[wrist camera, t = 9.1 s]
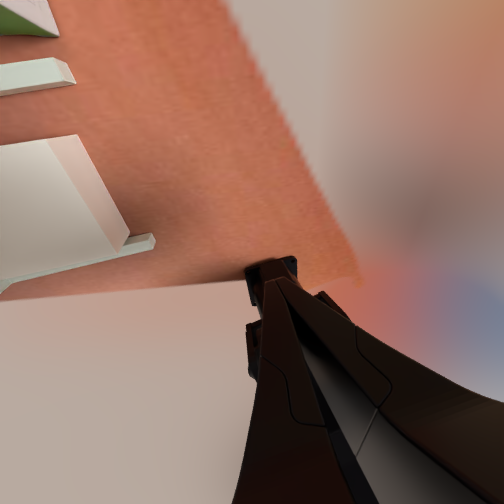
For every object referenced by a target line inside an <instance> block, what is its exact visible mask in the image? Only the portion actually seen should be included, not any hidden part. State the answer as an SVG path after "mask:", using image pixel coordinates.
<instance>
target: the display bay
mask: <svg viewBox="0 0 504 504" xmlns="http://www.w3.org/2000/svg"><path fill="white" fill-rule="evenodd" d="M74 84H77V83H76V81H75V79H74V77H73V75H72V73H71V71H70V69H69V67H68V65H67V63H65V62H63V61H60V60H58V59H55V58H53V57H51V58H44V59H37V60H30V61H23V62H16V63H9V64H2V65H0V96H5V95H11V94H17V93H24V92H30V91H36V90H43V89H49V88H55V87H62V86H68V85H74ZM155 242H156V240H155V238H154V236H153V234H152V232H150V233H146V234H142V235H137V236H133V237H129V238H127V239H126V241H125V243H124V244H123V246H122V248H121V249H120V251H119V253H118V254H117V255H112V256H108V257H103V258H99V259H94V260H90V261H85V262H81V263H76V264H72V265H67V266H63V267H58V268H53V269H49V270H44V271H40V272H35V273H31V274H26V275H22V276H17V277H13V278H8V279H4V280H0V294H1V293H2V292H3V291H4V290H5V289H6V288H7V287H9V286H10V285H11V284H12V283H15V282H19V281H24V280H28V279H32V278H36V277H40V276H44V275H48V274H53V273H57V272H61V271H65V270H69V269H73V268H77V267H81V266H86V265H90V264H94V263H98V262H102V261H106V260H110V259H115V258H119V257H123V256H127V255H131V254H135V253H139V252H143V251H148V250H152V249H153V248H154V245H155Z"/></svg>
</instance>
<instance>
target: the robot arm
mask: <svg viewBox="0 0 504 504" xmlns="http://www.w3.org/2000/svg"><path fill="white" fill-rule="evenodd" d="M292 260H293V261H292ZM248 271H250V272H249V273H247V272H248ZM244 273H245V278H246V282H247V286H248V291H249V295H250V300H251V304H252V306H257V308H258V311H259V314H260V318H261V319H260V320H258V321H256V322H253V323H249V324H247V325H246V331H247V332H246V343H247V353H248V363H249V364H248V373H249V375H250V377H252V378H253V379H255V380H256V382H257V388H256V393H255V400H254V406H253V411H252V416H251V421H250V426H249V431H248V436H247V442H246V447H245V452H244V457H243V461H242V466H241V470H240V475H239V479H238V483H237V487H236V490H235V494H234V498H233V501H232V504H504V402H500V401H497V400H494V399H491V398H488V397H485V396H482V395H480V394H477V393H475V392H473V391H470V390H468V389H466V388H464V387H462V386H460V385H458V384H456V383H454V382H452V381H451V380H449V379H447V378H445V377H443V376H442V375H440V374H438V373H436V372H434V371H433V370H431V369H429V368H427V367H425V366H423V365H422V364H420V363H418V362H416V361H415V360H413V359H411V358H409V357H407V356H406V355H404V354H402V353H400V352H399V351H397V350H395V349H393V348H392V347H390V346H388V345H387V344H385V343H383V342H382V341H380V340H378V339H377V338H375V337H374V336H372V335H371V334H369V333H367V332H366V331H365V330H363V329H362V328H360V327H359V326H355V324H354V323H352V321H351V320H350V319H349V317H348V316H347V315H346V313H345V312H344V311H343V310H342V309H341V308H340V307H339V306H338V305H337V304H336V303H335V302H334V301H333V300H332V299H331V298H330V297H329V296H328V295H327V294H326V293H325V292H324V291H321V292H319V293H318V294H316V295H314V296H312V295H311V294H309V293H308V292H306V291H305V290H303V288H302V286H301V285H300V283H299V282H298V280H297V259H296V258H295V257H294V256H291V257H287V258H283V259H279V260H275V261H272V262H268V263H264V264H260V265H256V266H253V267H249V268H246V269H245V270H244ZM255 302H256V303H255Z"/></svg>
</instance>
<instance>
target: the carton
mask: <svg viewBox="0 0 504 504" xmlns="http://www.w3.org/2000/svg"><path fill="white" fill-rule="evenodd" d="M129 234H130V231H129V229H128V227H127V225H126V223H125V222H124V220H123V218H122V216H121V214H120V212H119V211H118V209H117V207H116V205H115V203H114V201H113V199H112V198H111V196H110V194H109V192H108V190H107V188H106V187H105V185H104V183H103V181H102V179H101V177H100V176H99V174H98V172H97V170H96V168H95V166H94V164H93V163H92V161H91V159H90V157H89V155H88V153H87V152H86V150H85V148H84V146H83V144H82V142H81V141H80V139H79V137H78V135H77V134H76V135H69V136H62V137H55V138H48V139H41V140H35V141H29V142H22V143H16V144H9V145H3V146H0V280H4V279H8V278H13V277H17V276H22V275H26V274H31V273H35V272H40V271H44V270H49V269H53V268H58V267H63V266H67V265H72V264H76V263H81V262H85V261H90V260H94V259H99V258H103V257H108V256H112V255H117V254H118V253H119V251H120V249H121V248H122V246H123V244H124V243H125V241H126V239H127V237H128V236H129Z"/></svg>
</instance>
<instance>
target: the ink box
mask: <svg viewBox="0 0 504 504" xmlns="http://www.w3.org/2000/svg"><path fill="white" fill-rule="evenodd" d="M17 34H25V35H37V36H43V37H49V36H51V37H59V31H58V29H57V26H56V23H55V21H54V18H53V15H52V13H51V10H50V7H49V5H48V2H47V0H0V36H1V35H17Z"/></svg>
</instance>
